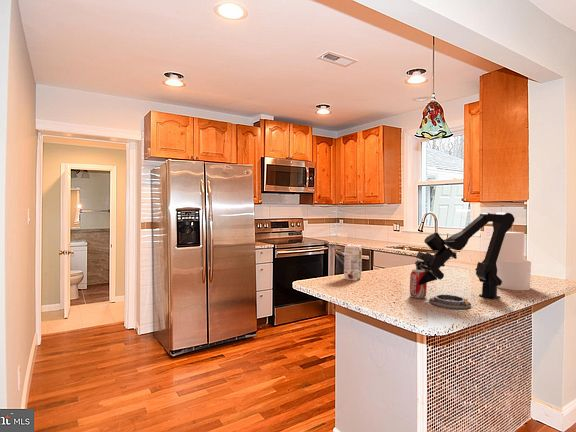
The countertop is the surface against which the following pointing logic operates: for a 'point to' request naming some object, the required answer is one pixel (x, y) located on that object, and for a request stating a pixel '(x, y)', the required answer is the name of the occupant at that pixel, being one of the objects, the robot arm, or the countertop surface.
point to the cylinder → (513, 263)
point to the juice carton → (352, 262)
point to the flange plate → (450, 301)
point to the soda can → (415, 288)
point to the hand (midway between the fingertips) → (415, 282)
